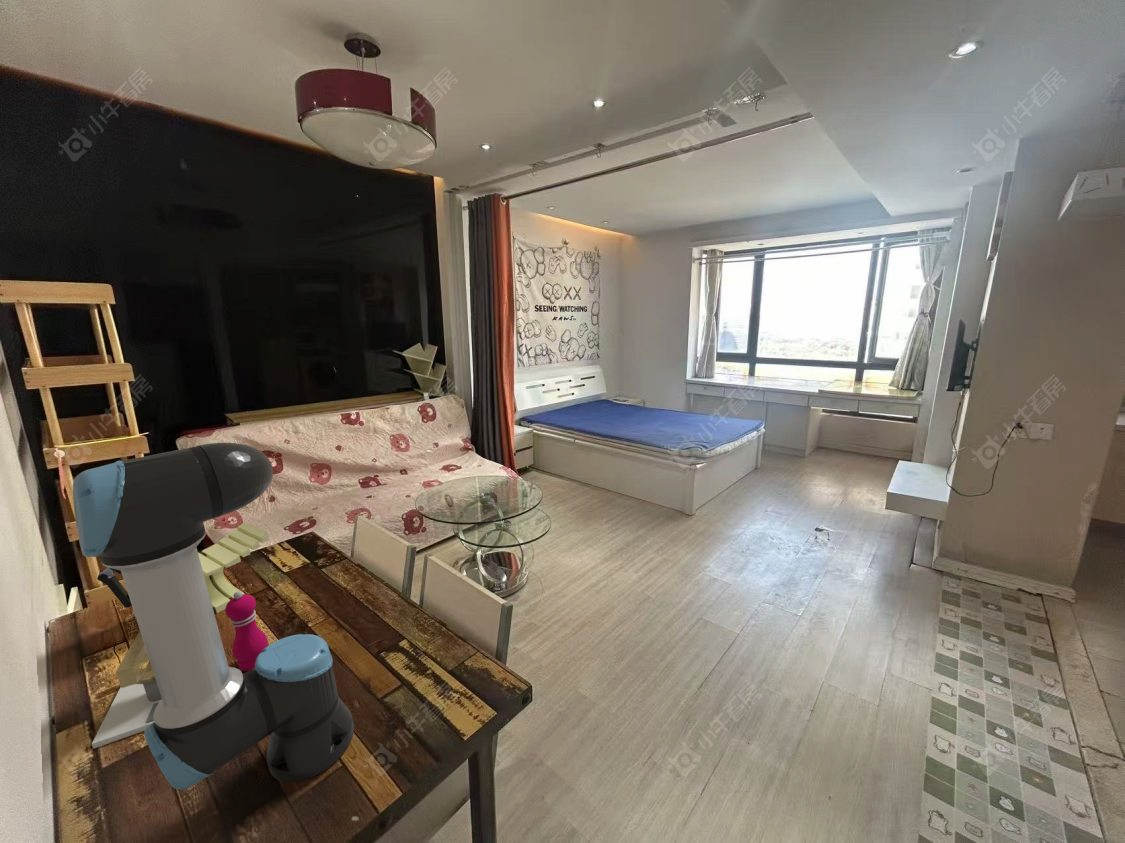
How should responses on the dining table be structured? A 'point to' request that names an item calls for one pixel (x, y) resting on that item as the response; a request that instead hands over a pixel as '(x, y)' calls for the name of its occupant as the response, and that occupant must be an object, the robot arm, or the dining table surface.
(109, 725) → the base
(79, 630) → the dining table surface
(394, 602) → the dining table surface
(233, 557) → the slatted curved stool
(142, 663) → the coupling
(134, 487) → the robot arm
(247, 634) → the pepper mill
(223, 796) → the dining table surface
